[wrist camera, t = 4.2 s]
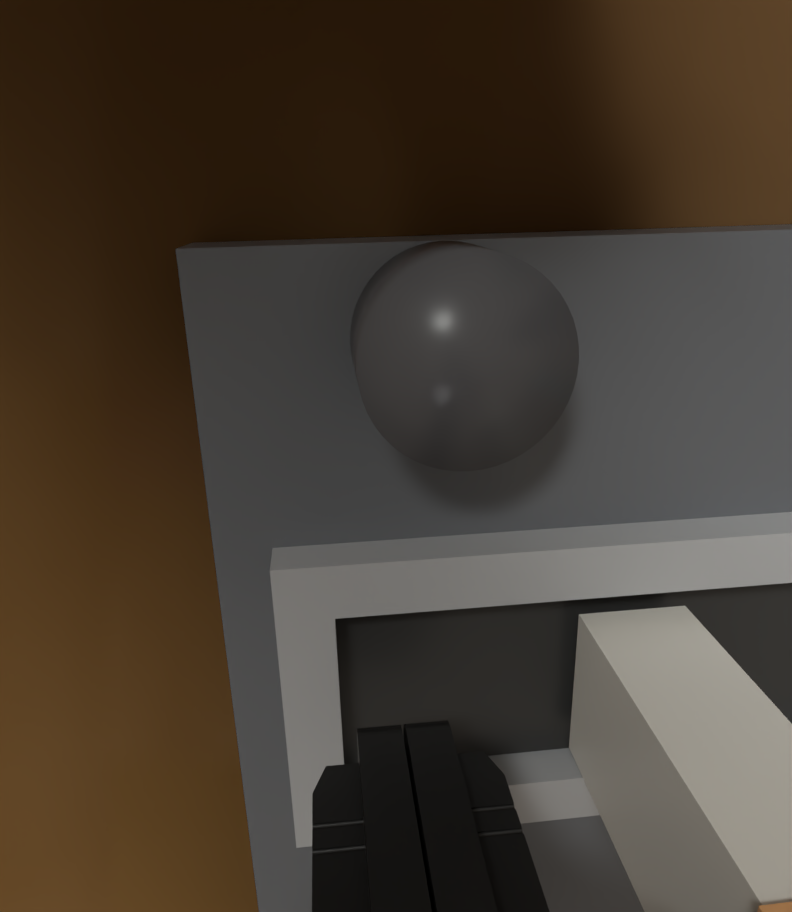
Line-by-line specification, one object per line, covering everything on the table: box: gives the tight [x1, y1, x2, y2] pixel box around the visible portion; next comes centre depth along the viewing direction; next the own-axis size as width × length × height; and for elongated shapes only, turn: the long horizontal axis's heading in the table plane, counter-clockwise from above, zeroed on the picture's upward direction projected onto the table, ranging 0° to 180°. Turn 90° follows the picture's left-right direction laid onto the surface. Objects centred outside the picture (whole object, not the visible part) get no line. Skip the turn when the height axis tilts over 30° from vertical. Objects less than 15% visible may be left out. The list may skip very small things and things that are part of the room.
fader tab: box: [569, 606, 792, 912], centre depth 10 cm, size 3×2×6 cm
